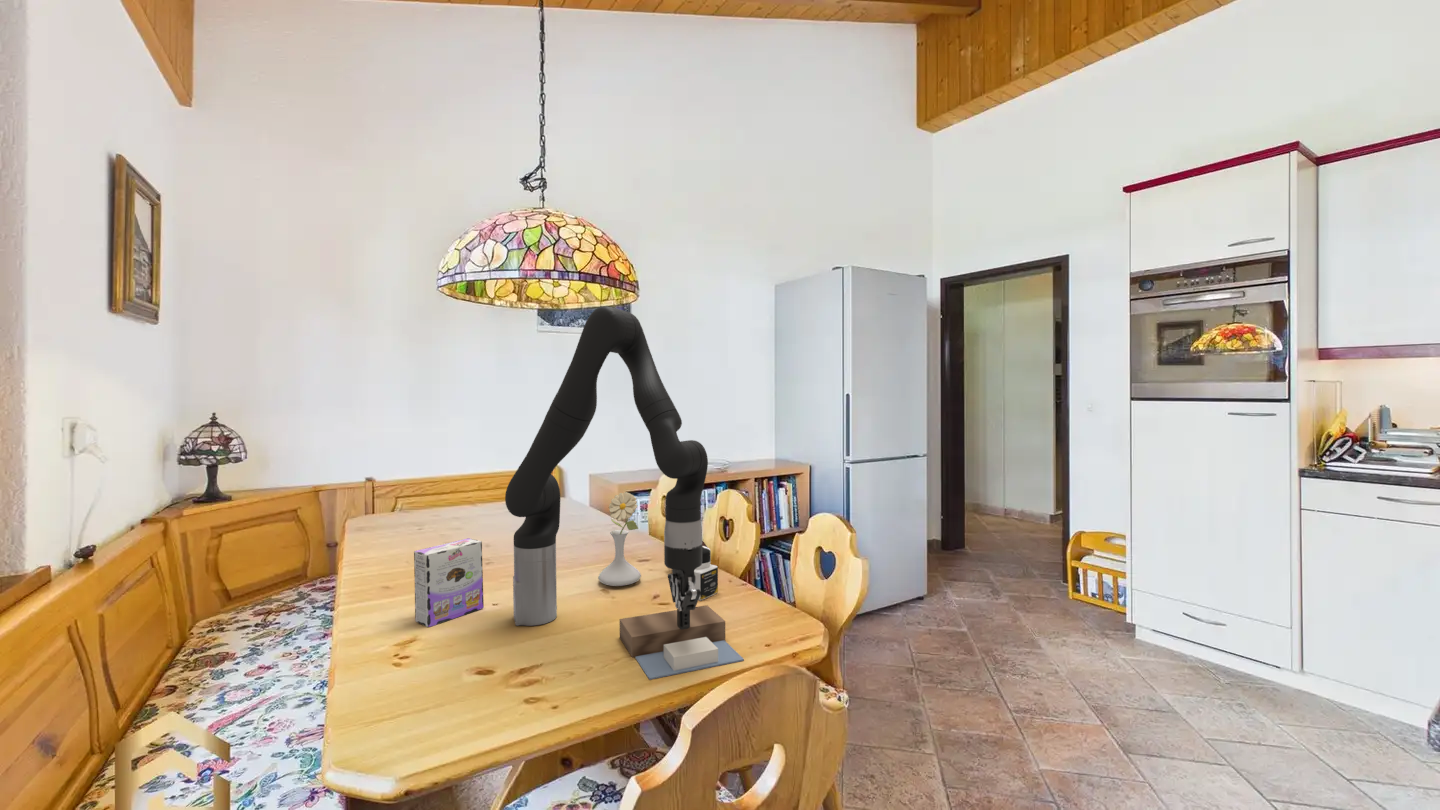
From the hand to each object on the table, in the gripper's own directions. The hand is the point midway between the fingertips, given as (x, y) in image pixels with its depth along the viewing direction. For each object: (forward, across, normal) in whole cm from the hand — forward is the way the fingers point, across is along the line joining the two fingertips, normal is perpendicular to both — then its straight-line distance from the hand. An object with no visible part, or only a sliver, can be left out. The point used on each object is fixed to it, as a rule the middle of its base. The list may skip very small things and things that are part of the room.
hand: (683, 627), depth 120 cm
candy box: (+5, -40, -43) cm, 59 cm away
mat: (+5, +3, 0) cm, 6 cm away
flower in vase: (+5, -46, -1) cm, 46 cm away
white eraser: (+2, +4, 0) cm, 5 cm away
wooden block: (+5, -7, 0) cm, 9 cm away
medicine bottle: (+5, -30, +15) cm, 34 cm away
